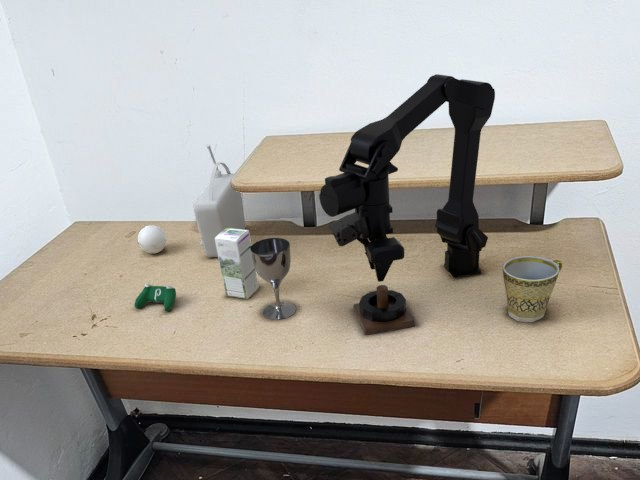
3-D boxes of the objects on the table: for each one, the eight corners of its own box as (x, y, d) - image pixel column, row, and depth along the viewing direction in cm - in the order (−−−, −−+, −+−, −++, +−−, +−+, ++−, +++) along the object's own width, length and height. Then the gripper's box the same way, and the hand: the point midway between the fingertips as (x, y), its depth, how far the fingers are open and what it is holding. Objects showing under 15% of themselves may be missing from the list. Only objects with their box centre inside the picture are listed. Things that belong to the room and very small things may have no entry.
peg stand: (400, 302, 131) (399, 272, 128) (415, 326, 123) (414, 295, 119) (353, 310, 131) (351, 280, 127) (365, 335, 122) (363, 304, 118)
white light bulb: (173, 245, 168) (167, 219, 164) (164, 257, 162) (157, 231, 158) (138, 246, 170) (131, 221, 166) (127, 259, 164) (120, 233, 160)
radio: (219, 227, 176) (202, 136, 162) (248, 225, 174) (233, 134, 161) (197, 262, 158) (176, 164, 144) (229, 261, 156) (211, 162, 143)
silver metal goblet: (293, 321, 129) (284, 255, 121) (256, 320, 131) (245, 255, 123) (301, 301, 136) (293, 237, 128) (266, 301, 138) (256, 237, 129)
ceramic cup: (524, 333, 117) (529, 285, 112) (488, 311, 125) (491, 265, 119) (576, 311, 122) (583, 264, 116) (538, 291, 129) (543, 246, 124)
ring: (396, 295, 131) (396, 286, 130) (412, 316, 123) (411, 306, 122) (355, 304, 130) (354, 294, 128) (368, 325, 122) (367, 316, 121)
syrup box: (259, 287, 143) (250, 228, 135) (247, 300, 139) (236, 239, 131) (238, 284, 146) (227, 226, 138) (225, 297, 141) (213, 237, 133)
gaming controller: (176, 314, 140) (181, 288, 141) (168, 310, 137) (173, 283, 138) (141, 311, 143) (146, 286, 144) (132, 306, 140) (137, 281, 141)
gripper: (322, 190, 124) (328, 261, 133) (341, 225, 109) (347, 304, 117) (376, 181, 125) (379, 253, 133) (404, 215, 109) (405, 294, 118)
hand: (377, 274), depth 125 cm, fingers open, 5 cm apart
